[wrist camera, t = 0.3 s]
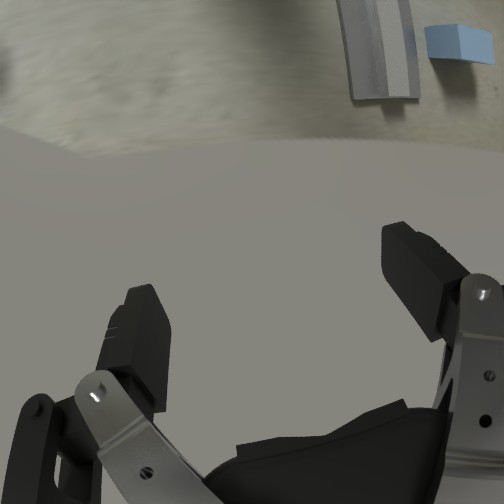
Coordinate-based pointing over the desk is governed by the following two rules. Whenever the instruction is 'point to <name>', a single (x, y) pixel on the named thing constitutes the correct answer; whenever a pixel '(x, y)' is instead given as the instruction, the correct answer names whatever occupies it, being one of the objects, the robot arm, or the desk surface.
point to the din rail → (365, 50)
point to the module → (460, 44)
